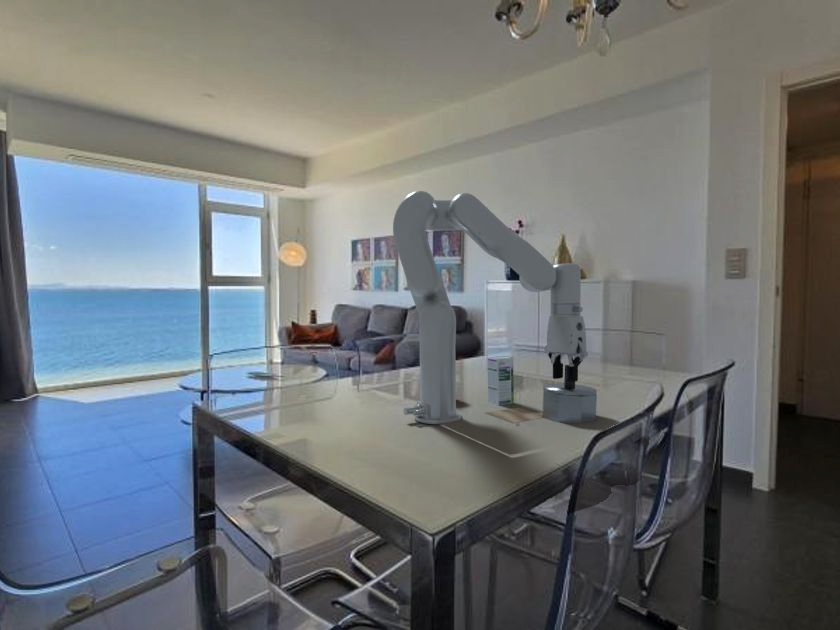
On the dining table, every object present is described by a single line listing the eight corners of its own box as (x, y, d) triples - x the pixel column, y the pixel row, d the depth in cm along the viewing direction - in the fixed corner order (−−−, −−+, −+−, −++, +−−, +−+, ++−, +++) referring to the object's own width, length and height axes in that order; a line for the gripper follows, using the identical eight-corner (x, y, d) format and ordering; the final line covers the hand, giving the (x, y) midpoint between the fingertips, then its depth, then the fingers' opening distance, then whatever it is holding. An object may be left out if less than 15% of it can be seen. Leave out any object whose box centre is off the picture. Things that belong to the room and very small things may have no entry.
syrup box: (498, 407, 139) (497, 358, 139) (487, 403, 145) (487, 355, 144) (514, 405, 141) (514, 356, 141) (502, 401, 147) (502, 354, 146)
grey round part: (569, 426, 117) (572, 370, 116) (531, 413, 128) (533, 362, 128) (606, 420, 124) (609, 368, 123) (566, 409, 135) (568, 361, 135)
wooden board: (512, 425, 120) (512, 422, 120) (484, 415, 130) (484, 412, 130) (548, 418, 125) (548, 416, 125) (518, 409, 136) (518, 407, 136)
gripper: (601, 311, 119) (601, 383, 120) (552, 309, 134) (552, 374, 134) (580, 312, 115) (579, 386, 116) (532, 310, 130) (532, 376, 131)
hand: (565, 379), depth 125 cm, fingers open, 4 cm apart
